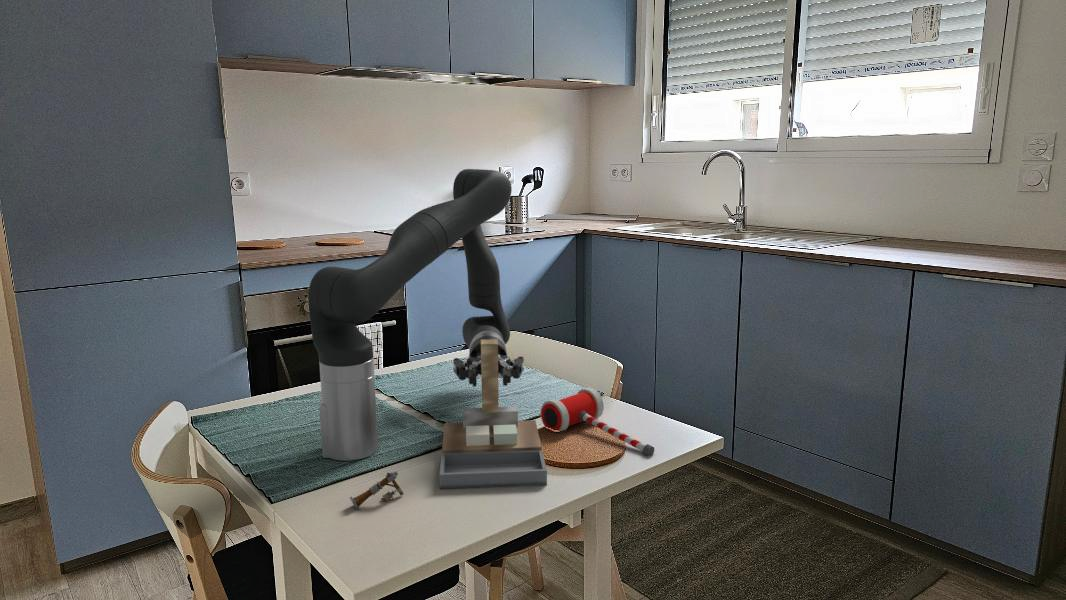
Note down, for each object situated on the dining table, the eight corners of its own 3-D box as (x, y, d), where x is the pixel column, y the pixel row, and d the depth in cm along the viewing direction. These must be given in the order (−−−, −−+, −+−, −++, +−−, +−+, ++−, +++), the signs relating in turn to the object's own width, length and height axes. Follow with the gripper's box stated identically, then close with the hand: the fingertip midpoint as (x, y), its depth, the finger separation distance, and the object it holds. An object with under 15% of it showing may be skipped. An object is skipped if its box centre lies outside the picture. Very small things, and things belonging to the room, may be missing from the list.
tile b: (494, 445, 124) (494, 434, 124) (493, 435, 128) (493, 425, 128) (517, 444, 124) (517, 433, 124) (515, 434, 128) (515, 424, 128)
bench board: (442, 466, 123) (442, 450, 122) (444, 438, 134) (444, 423, 134) (541, 463, 124) (541, 447, 123) (535, 435, 136) (535, 420, 135)
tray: (440, 489, 115) (439, 474, 114) (441, 466, 123) (441, 453, 122) (546, 484, 116) (546, 470, 116) (542, 463, 124) (542, 449, 123)
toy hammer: (671, 447, 131) (673, 414, 130) (630, 467, 123) (631, 432, 122) (581, 413, 148) (581, 383, 146) (539, 428, 140) (539, 397, 138)
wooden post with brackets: (409, 492, 112) (397, 470, 110) (365, 523, 109) (351, 501, 108) (405, 487, 114) (393, 465, 112) (361, 517, 111) (348, 496, 109)
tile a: (466, 445, 124) (466, 435, 123) (466, 436, 128) (466, 426, 127) (489, 445, 124) (489, 434, 124) (488, 435, 128) (488, 425, 127)
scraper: (463, 428, 131) (461, 344, 127) (463, 422, 134) (461, 340, 130) (517, 427, 132) (517, 343, 128) (516, 420, 135) (516, 338, 131)
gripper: (451, 336, 143) (449, 361, 127) (523, 334, 144) (530, 359, 128) (452, 371, 145) (450, 402, 128) (523, 369, 146) (530, 399, 129)
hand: (490, 380), depth 128 cm, fingers open, 5 cm apart
